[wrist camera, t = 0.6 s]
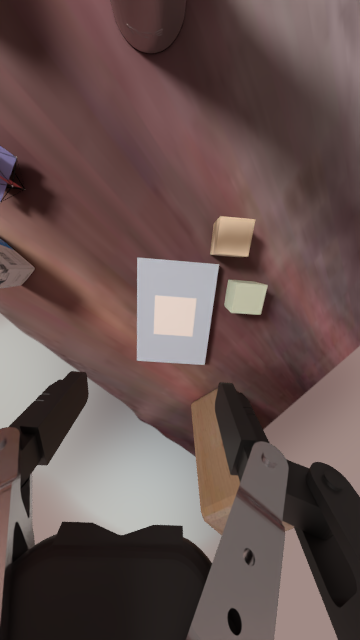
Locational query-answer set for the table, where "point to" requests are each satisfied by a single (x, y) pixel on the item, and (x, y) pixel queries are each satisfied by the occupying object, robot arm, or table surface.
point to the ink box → (13, 267)
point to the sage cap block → (245, 297)
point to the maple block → (232, 237)
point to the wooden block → (213, 465)
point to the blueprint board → (174, 310)
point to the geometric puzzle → (7, 171)
